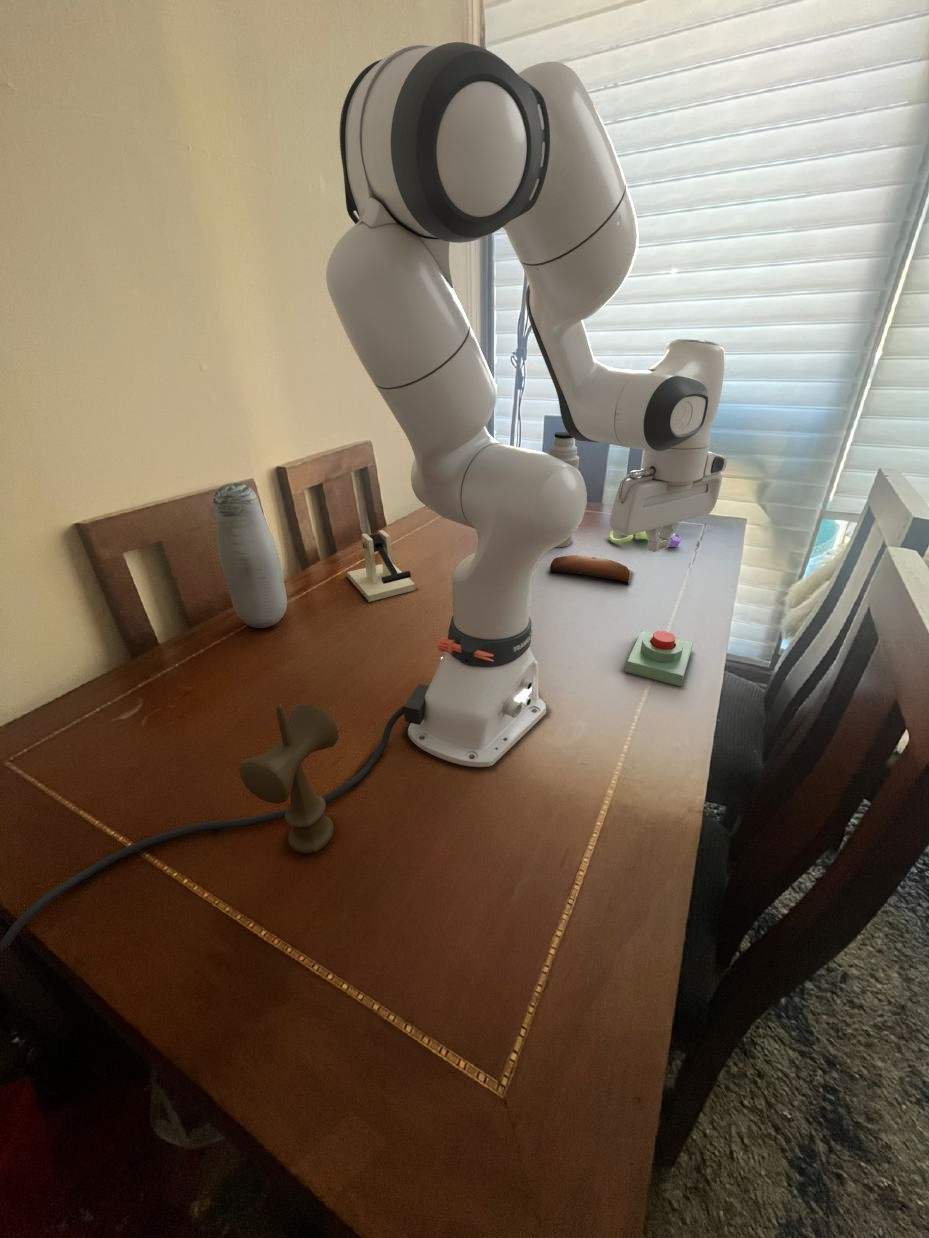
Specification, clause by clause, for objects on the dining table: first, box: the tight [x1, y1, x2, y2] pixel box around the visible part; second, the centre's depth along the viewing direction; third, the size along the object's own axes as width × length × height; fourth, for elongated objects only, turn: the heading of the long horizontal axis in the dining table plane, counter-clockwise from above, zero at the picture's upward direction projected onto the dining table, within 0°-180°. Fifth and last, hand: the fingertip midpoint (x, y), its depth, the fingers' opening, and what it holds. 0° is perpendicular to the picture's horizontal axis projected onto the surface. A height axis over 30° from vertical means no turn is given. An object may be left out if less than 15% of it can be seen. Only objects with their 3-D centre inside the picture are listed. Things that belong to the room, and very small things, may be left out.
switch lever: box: [369, 533, 412, 584], centre depth 110 cm, size 13×6×2 cm, turn 29°
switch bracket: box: [347, 529, 416, 603], centre depth 115 cm, size 14×11×12 cm
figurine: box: [608, 529, 682, 548], centre depth 141 cm, size 18×27×6 cm
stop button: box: [651, 630, 677, 650], centre depth 87 cm, size 4×4×2 cm
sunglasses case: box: [549, 554, 632, 585], centre depth 120 cm, size 18×7×7 cm, turn 68°
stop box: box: [624, 630, 694, 687], centre depth 89 cm, size 11×9×4 cm
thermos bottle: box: [548, 431, 580, 548], centre depth 131 cm, size 8×8×28 cm
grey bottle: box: [212, 482, 288, 629], centre depth 96 cm, size 10×10×28 cm
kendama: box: [238, 702, 339, 855], centre depth 55 cm, size 6×10×20 cm, turn 160°
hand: (657, 549), depth 84 cm, fingers closed
